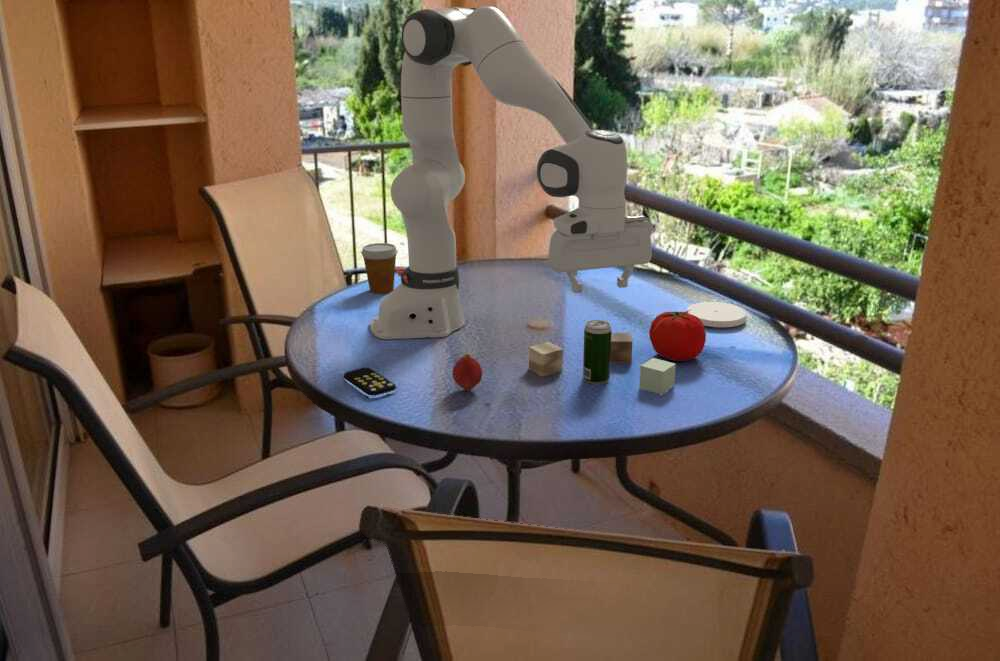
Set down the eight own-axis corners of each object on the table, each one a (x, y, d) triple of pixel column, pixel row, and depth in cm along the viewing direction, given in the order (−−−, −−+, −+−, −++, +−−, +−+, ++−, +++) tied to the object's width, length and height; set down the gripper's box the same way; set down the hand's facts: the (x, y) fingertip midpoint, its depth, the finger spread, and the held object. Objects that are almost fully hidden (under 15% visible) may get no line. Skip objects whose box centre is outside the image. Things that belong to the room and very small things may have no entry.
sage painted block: (661, 395, 163) (663, 371, 161) (639, 388, 166) (640, 365, 164) (674, 387, 166) (675, 363, 165) (651, 380, 169) (653, 357, 167)
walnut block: (607, 363, 178) (608, 341, 176) (606, 354, 182) (607, 332, 181) (631, 363, 178) (632, 341, 176) (629, 354, 182) (630, 333, 180)
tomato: (711, 353, 182) (715, 308, 179) (694, 371, 173) (697, 325, 169) (658, 343, 188) (661, 299, 184) (639, 360, 179) (642, 315, 175)
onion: (447, 390, 165) (445, 353, 163) (468, 381, 169) (467, 345, 166) (467, 399, 162) (466, 361, 159) (488, 390, 165) (488, 352, 162)
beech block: (542, 376, 171) (542, 354, 170) (528, 368, 175) (529, 346, 174) (562, 371, 174) (562, 349, 172) (548, 363, 178) (548, 341, 176)
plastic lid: (757, 322, 201) (758, 312, 200) (720, 335, 193) (721, 325, 192) (710, 307, 211) (711, 298, 210) (673, 319, 203) (674, 310, 202)
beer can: (597, 387, 166) (599, 331, 162) (577, 379, 170) (578, 324, 165) (615, 379, 169) (617, 324, 165) (594, 372, 173) (596, 317, 169)
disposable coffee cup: (360, 287, 228) (357, 244, 224) (394, 283, 231) (392, 241, 227) (368, 297, 220) (365, 253, 216) (403, 293, 223) (401, 249, 219)
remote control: (368, 373, 175) (367, 364, 174) (399, 393, 165) (398, 384, 164) (341, 381, 171) (340, 372, 171) (371, 402, 162) (370, 392, 161)
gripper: (644, 211, 163) (641, 279, 168) (545, 220, 158) (545, 289, 163) (659, 218, 158) (655, 288, 163) (557, 227, 152) (556, 299, 157)
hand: (599, 289), depth 163 cm, fingers open, 8 cm apart
